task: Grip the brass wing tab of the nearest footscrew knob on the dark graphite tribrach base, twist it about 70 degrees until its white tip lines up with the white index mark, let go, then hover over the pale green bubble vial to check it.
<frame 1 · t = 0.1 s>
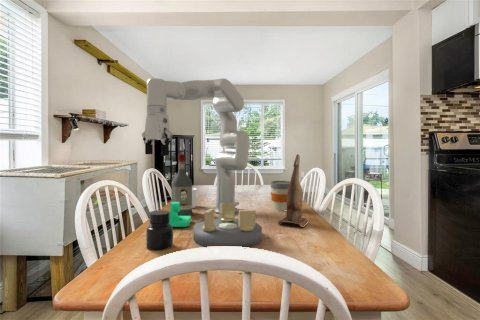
hand: (156, 154, 118), 31 cm above the table, tool pointing down, fingers open, 9 cm apart
ink bottle: (159, 246, 104), on the table
reusable coffee cup: (281, 209, 163), on the table
white cup: (190, 207, 166), on the table
footscrew knob: (227, 212, 122), point 8 cm above the table, hinge at 0.0°
liquor: (181, 214, 150), on the table
camera mount: (180, 225, 131), on the table
bird sculpture: (293, 224, 134), on the table
tribrach base: (227, 237, 114), on the table
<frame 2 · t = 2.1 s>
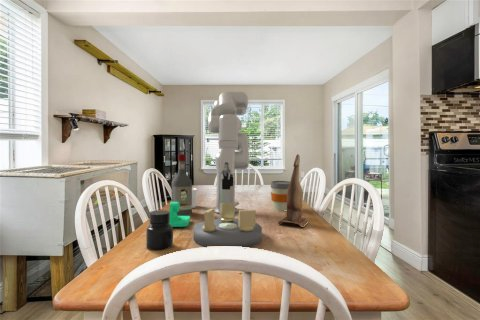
hand: (227, 187, 121), 18 cm above the table, tool pointing down, fingers open, 9 cm apart
nothing on the table moved.
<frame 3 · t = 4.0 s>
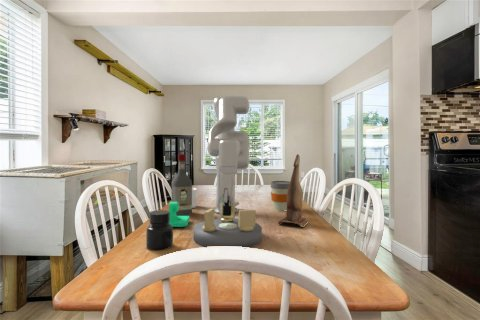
hand: (227, 214, 122), 7 cm above the table, tool pointing down, fingers closed
footscrew knob: (227, 212, 122), point 8 cm above the table, hinge at 0.0°, touching gripper
everything else where it was.
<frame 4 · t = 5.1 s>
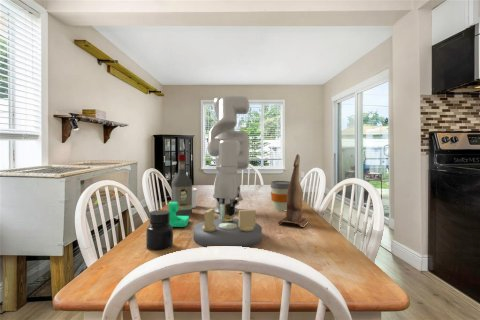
hand: (227, 214, 122), 7 cm above the table, tool pointing down, fingers closed on footscrew knob, 3 cm apart
footscrew knob: (227, 212, 122), point 8 cm above the table, hinge at 44.0°, touching gripper
everything else where it was.
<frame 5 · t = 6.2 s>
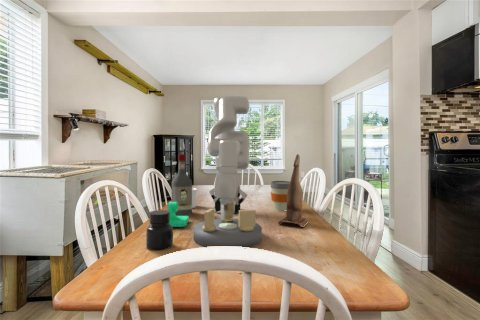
hand: (227, 212, 122), 8 cm above the table, tool pointing down, fingers open, 8 cm apart
footscrew knob: (227, 212, 122), point 8 cm above the table, hinge at 56.7°
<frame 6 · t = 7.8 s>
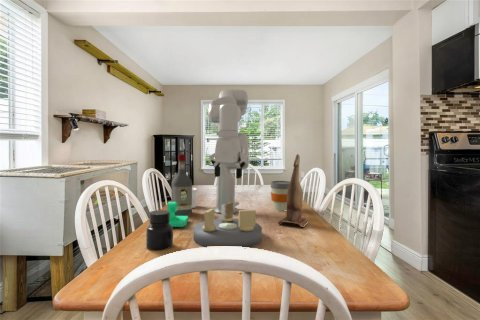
hand: (227, 177, 121), 22 cm above the table, tool pointing down, fingers open, 9 cm apart
footscrew knob: (227, 212, 122), point 8 cm above the table, hinge at 62.8°
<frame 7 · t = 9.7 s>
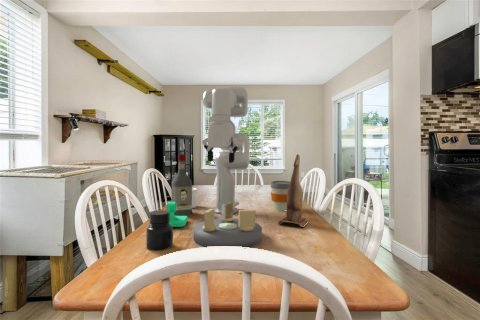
hand: (220, 161, 122), 28 cm above the table, tool pointing down, fingers open, 9 cm apart
footscrew knob: (227, 212, 122), point 8 cm above the table, hinge at 64.2°
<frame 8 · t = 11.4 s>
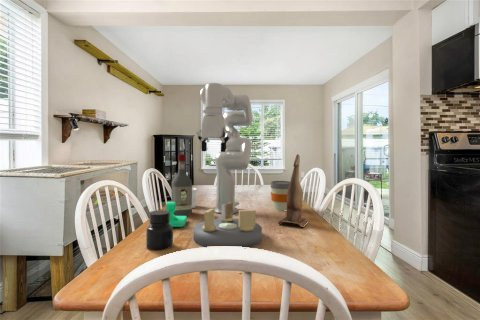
hand: (213, 151, 131), 32 cm above the table, tool pointing down, fingers open, 9 cm apart
at the end: footscrew knob at +64° (first picture: +0°); the gripper is holding nothing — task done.
